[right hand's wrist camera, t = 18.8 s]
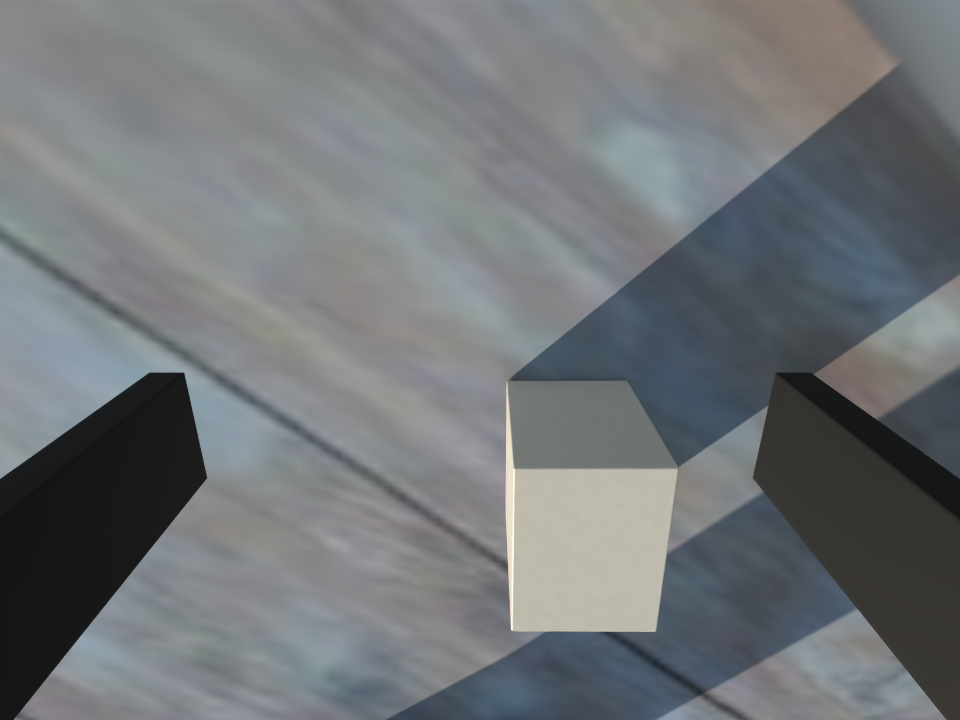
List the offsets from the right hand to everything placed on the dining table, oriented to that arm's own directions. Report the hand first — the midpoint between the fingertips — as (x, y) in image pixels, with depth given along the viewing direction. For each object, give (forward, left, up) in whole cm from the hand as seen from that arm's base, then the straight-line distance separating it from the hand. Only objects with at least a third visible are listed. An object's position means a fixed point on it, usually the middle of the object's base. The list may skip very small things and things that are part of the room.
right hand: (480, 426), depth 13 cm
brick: (+9, +6, -16) cm, 20 cm away
